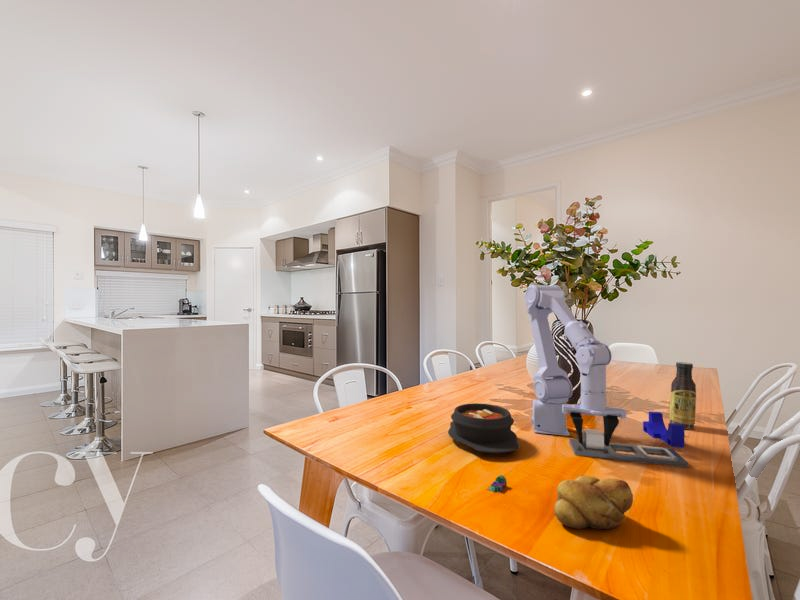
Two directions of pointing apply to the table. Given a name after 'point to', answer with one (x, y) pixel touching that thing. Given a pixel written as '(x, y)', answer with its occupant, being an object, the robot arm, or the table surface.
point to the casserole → (483, 428)
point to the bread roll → (592, 502)
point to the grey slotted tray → (639, 451)
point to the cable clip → (664, 430)
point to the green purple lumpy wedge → (498, 484)
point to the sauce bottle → (683, 396)
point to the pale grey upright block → (593, 440)
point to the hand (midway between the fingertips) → (593, 443)
